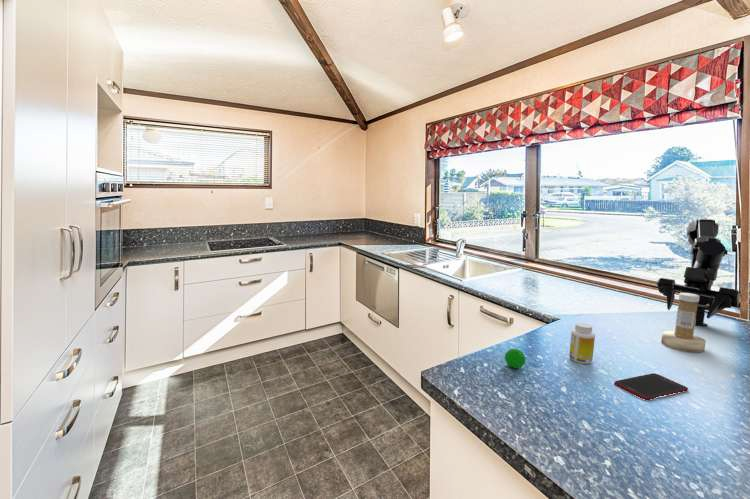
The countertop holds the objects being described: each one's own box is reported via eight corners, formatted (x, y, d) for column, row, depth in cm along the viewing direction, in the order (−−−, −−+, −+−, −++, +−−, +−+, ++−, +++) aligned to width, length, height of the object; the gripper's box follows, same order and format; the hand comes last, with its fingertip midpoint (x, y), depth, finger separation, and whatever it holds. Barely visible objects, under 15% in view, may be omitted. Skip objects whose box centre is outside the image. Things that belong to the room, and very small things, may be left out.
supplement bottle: (596, 362, 95) (600, 326, 94) (583, 366, 93) (587, 329, 91) (577, 354, 100) (580, 320, 99) (564, 357, 98) (567, 323, 96)
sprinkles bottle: (695, 337, 106) (702, 294, 104) (690, 340, 103) (696, 297, 101) (676, 332, 110) (682, 291, 108) (671, 335, 107) (677, 293, 105)
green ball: (511, 372, 89) (512, 354, 88) (500, 363, 94) (501, 346, 93) (528, 370, 90) (530, 353, 89) (517, 361, 95) (518, 345, 94)
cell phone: (689, 392, 81) (690, 388, 81) (645, 402, 77) (645, 398, 77) (654, 376, 89) (654, 372, 89) (612, 385, 84) (612, 381, 84)
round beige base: (654, 338, 112) (655, 329, 112) (689, 341, 111) (690, 332, 110) (674, 351, 103) (675, 341, 102) (713, 354, 101) (714, 344, 100)
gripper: (662, 253, 114) (645, 291, 109) (744, 262, 99) (728, 306, 94) (667, 274, 119) (651, 310, 115) (745, 285, 104) (730, 328, 100)
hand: (687, 313), depth 106 cm, fingers open, 9 cm apart
